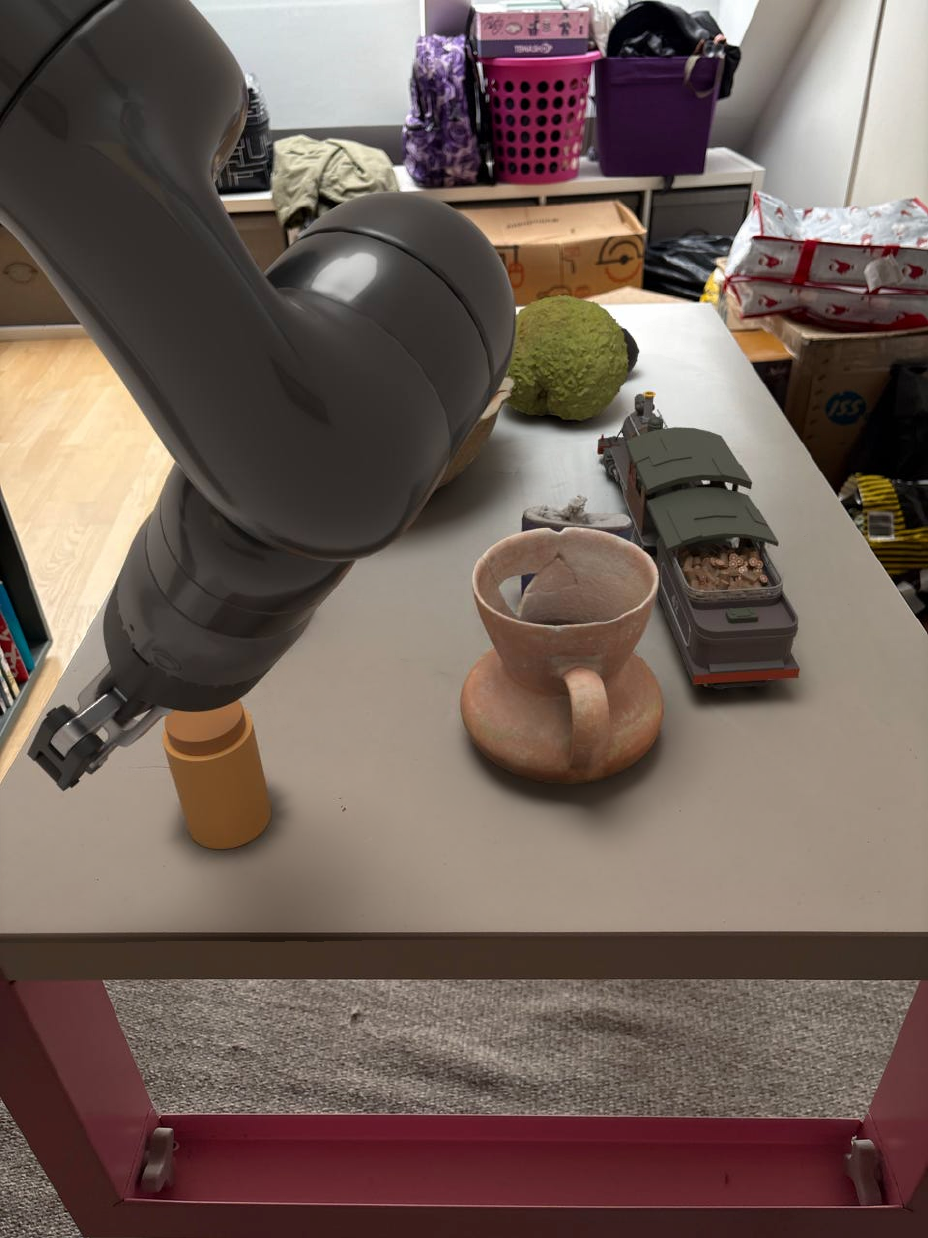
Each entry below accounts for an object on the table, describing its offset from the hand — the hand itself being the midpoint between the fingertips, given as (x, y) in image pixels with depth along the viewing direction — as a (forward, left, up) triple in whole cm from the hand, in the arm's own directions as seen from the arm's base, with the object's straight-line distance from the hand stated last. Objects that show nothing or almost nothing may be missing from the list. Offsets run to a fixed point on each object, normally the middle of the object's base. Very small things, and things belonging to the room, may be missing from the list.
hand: (143, 706), depth 53 cm
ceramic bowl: (+12, +52, -14) cm, 55 cm away
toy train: (+40, +35, -14) cm, 55 cm away
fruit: (+34, +68, -14) cm, 77 cm away
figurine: (+42, +84, -14) cm, 95 cm away
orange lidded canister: (+2, +5, -14) cm, 15 cm away
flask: (+29, +27, -14) cm, 42 cm away
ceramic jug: (+25, +10, -14) cm, 31 cm away
